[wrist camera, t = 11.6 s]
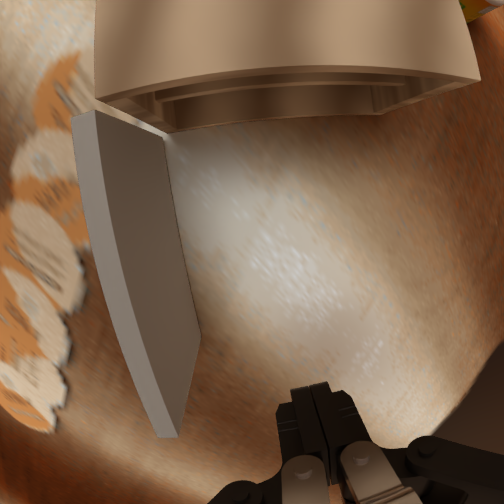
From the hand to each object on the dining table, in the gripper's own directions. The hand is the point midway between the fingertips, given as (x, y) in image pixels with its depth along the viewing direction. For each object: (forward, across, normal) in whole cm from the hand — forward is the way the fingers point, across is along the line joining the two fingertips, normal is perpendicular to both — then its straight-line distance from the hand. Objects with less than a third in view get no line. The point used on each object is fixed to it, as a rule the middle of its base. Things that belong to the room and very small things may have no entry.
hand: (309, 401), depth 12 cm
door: (+14, +8, -5) cm, 17 cm away
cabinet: (+15, -3, -21) cm, 26 cm away
